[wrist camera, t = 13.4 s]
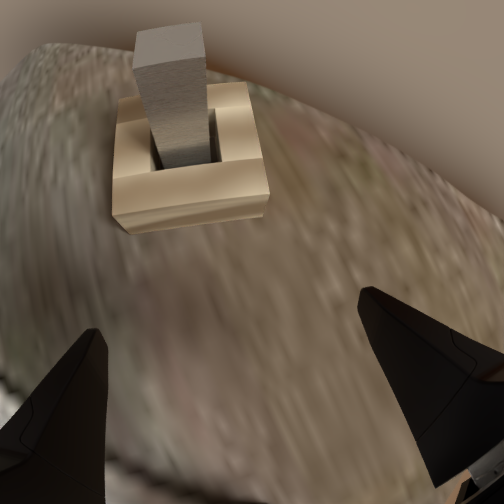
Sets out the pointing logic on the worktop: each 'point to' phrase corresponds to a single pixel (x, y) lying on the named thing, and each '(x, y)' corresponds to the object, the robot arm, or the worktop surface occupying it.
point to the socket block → (189, 169)
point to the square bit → (174, 92)
